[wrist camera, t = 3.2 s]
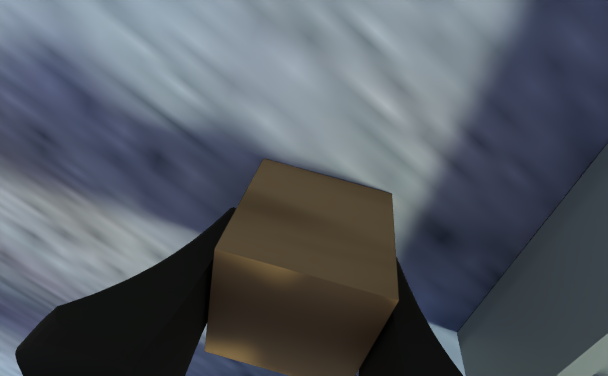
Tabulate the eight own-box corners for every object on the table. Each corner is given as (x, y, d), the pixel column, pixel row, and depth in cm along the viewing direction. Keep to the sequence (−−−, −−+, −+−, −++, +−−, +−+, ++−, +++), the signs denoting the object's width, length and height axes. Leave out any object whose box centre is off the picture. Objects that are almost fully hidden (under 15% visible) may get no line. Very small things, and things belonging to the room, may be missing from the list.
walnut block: (353, 280, 16) (345, 391, 12) (247, 250, 16) (204, 351, 12) (392, 193, 13) (398, 300, 9) (263, 158, 14) (214, 248, 9)
